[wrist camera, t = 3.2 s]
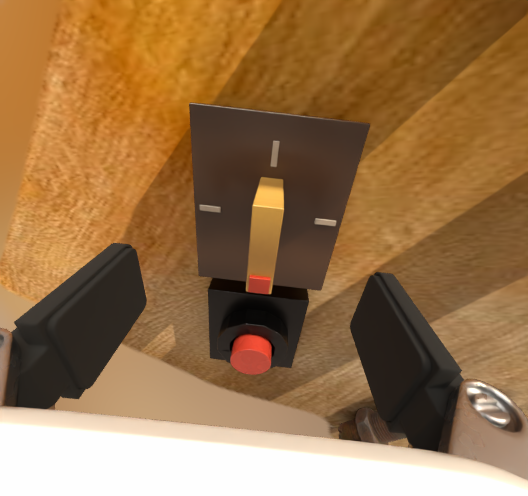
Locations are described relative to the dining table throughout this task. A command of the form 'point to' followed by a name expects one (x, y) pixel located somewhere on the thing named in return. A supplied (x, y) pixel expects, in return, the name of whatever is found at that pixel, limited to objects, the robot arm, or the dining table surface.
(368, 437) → the bolt
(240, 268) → the plate
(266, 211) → the gold slab
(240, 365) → the red button
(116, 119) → the dining table surface
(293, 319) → the button box
